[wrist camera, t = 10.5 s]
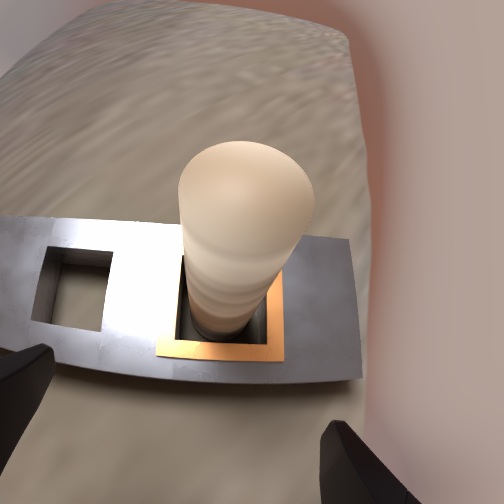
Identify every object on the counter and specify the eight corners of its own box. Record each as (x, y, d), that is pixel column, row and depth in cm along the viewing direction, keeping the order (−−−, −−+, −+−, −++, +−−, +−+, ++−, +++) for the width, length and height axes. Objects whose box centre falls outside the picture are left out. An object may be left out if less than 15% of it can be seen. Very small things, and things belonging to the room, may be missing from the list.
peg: (243, 345, 20) (313, 264, 8) (186, 335, 20) (161, 236, 8) (251, 291, 22) (315, 156, 10) (196, 281, 22) (196, 132, 9)
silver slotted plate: (333, 256, 25) (350, 237, 22) (342, 381, 20) (364, 377, 17) (13, 233, 21) (-4, 213, 18) (-13, 343, 16) (-36, 334, 13)
